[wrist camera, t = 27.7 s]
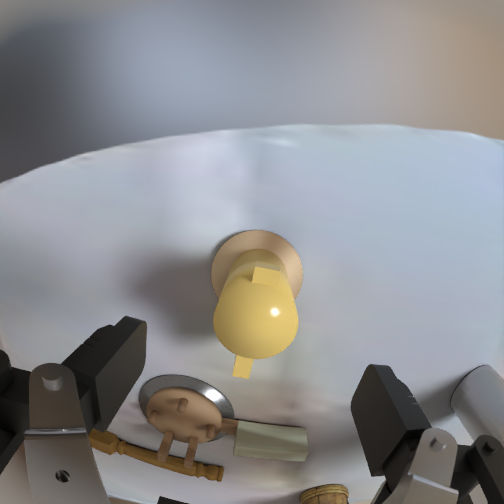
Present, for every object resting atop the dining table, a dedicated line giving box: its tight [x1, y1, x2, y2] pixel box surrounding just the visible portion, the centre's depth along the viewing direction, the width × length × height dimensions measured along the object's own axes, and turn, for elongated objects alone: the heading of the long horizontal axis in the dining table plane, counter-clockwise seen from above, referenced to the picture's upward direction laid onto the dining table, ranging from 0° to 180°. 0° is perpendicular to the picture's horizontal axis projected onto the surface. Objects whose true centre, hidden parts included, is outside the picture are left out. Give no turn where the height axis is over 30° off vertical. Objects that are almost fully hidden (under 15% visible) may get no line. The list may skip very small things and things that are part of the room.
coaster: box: [211, 230, 303, 300], centre depth 29 cm, size 9×9×1 cm
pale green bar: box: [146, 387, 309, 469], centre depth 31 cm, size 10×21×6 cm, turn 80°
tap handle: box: [88, 429, 224, 482], centre depth 36 cm, size 3×3×30 cm
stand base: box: [139, 375, 234, 442], centre depth 34 cm, size 13×13×1 cm
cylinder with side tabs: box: [213, 249, 298, 379], centre depth 24 cm, size 11×6×10 cm, turn 169°
